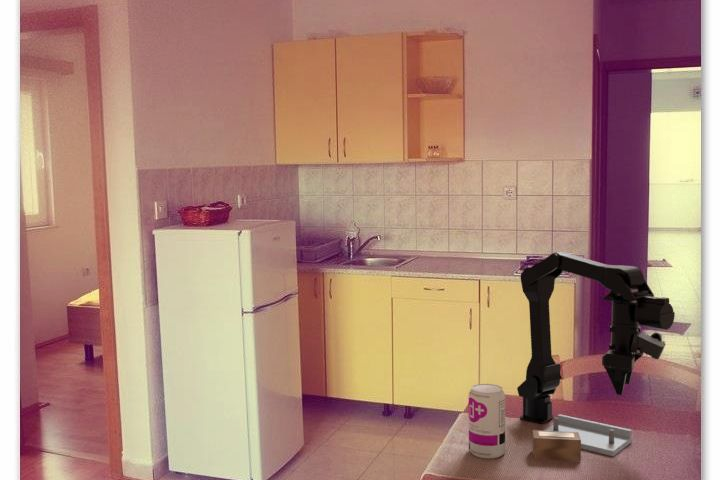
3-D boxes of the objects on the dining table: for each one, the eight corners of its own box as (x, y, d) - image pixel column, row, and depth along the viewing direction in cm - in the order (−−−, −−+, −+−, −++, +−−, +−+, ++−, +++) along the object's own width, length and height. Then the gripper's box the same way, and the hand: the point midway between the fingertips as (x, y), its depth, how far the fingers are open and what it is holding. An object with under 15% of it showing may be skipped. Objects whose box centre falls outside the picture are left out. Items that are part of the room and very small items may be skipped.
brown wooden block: (533, 459, 157) (533, 437, 156) (532, 451, 162) (532, 429, 161) (580, 462, 155) (580, 439, 154) (578, 453, 160) (578, 431, 159)
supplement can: (483, 462, 155) (483, 395, 154) (461, 450, 163) (461, 386, 161) (512, 455, 159) (512, 390, 158) (490, 443, 166) (489, 381, 165)
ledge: (538, 438, 169) (538, 421, 169) (559, 425, 177) (559, 409, 177) (613, 456, 157) (613, 438, 157) (631, 442, 166) (631, 424, 165)
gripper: (657, 334, 148) (655, 406, 150) (668, 318, 164) (666, 383, 166) (602, 328, 154) (600, 398, 155) (618, 313, 170) (616, 377, 171)
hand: (623, 389), depth 162 cm, fingers open, 9 cm apart
